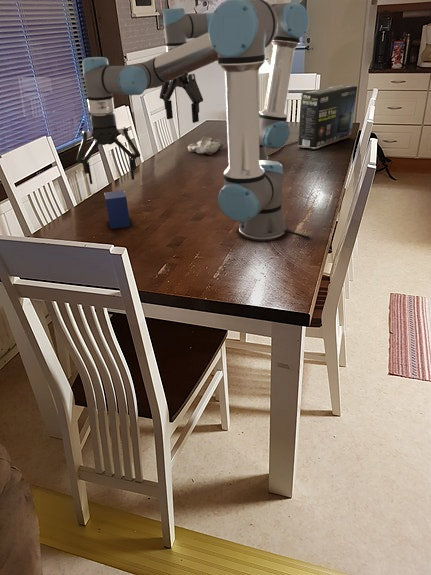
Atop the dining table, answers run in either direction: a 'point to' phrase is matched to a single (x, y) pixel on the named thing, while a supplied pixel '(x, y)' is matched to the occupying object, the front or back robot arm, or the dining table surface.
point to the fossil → (206, 146)
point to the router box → (326, 115)
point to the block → (117, 209)
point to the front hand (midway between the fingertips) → (112, 180)
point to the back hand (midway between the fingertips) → (182, 120)
